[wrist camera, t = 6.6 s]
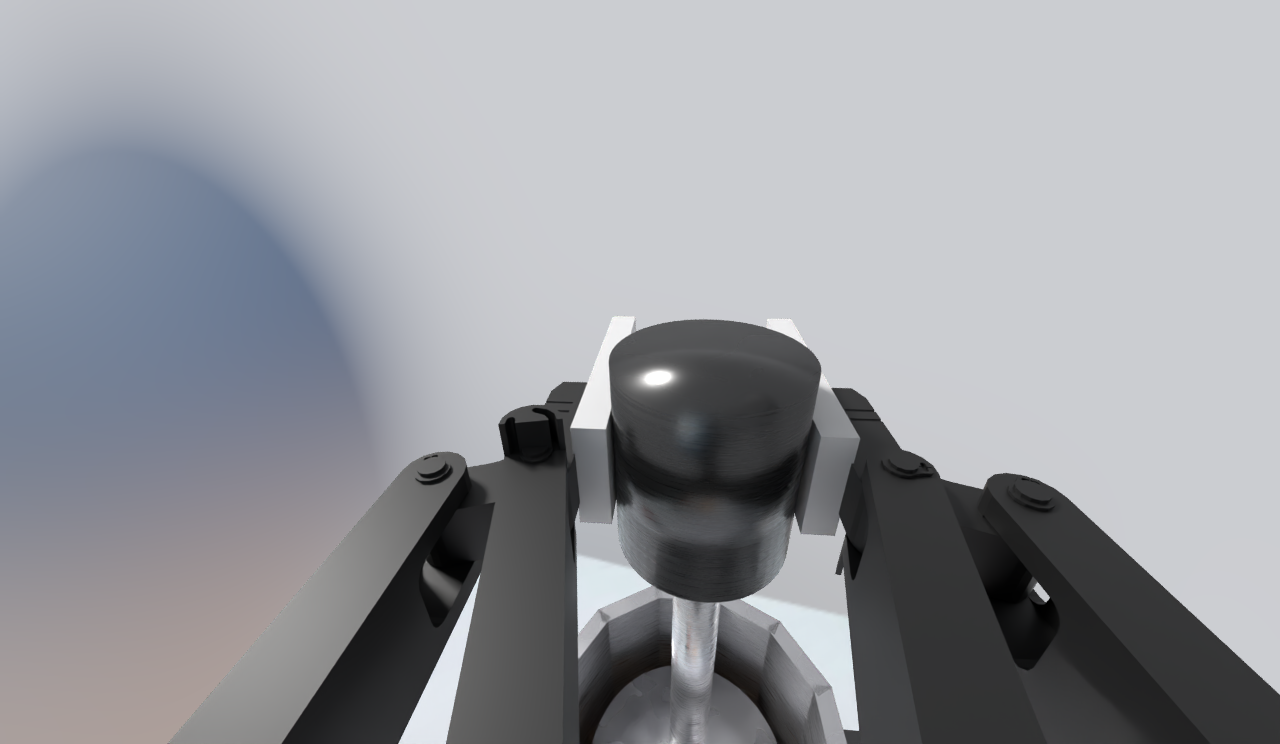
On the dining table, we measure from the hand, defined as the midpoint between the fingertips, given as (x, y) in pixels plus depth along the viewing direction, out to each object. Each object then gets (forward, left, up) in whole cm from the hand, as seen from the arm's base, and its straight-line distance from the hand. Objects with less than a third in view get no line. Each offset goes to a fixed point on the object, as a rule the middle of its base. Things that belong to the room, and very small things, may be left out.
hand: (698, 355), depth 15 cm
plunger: (0, +5, -17) cm, 18 cm away
